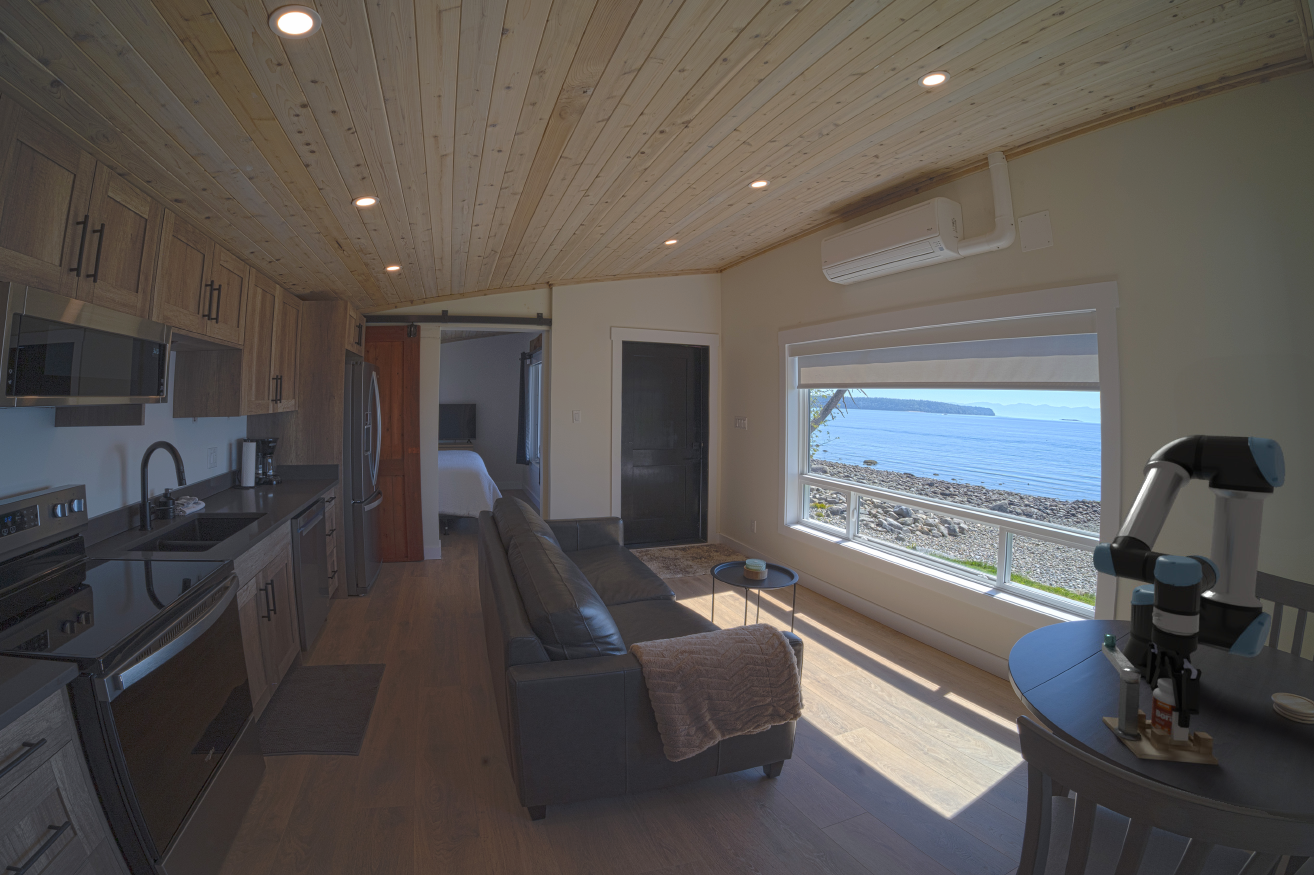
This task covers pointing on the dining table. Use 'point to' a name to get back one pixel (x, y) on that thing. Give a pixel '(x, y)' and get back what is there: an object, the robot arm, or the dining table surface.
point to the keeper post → (1128, 711)
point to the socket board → (1161, 755)
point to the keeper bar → (1120, 660)
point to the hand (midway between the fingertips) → (1169, 729)
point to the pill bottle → (1163, 705)
